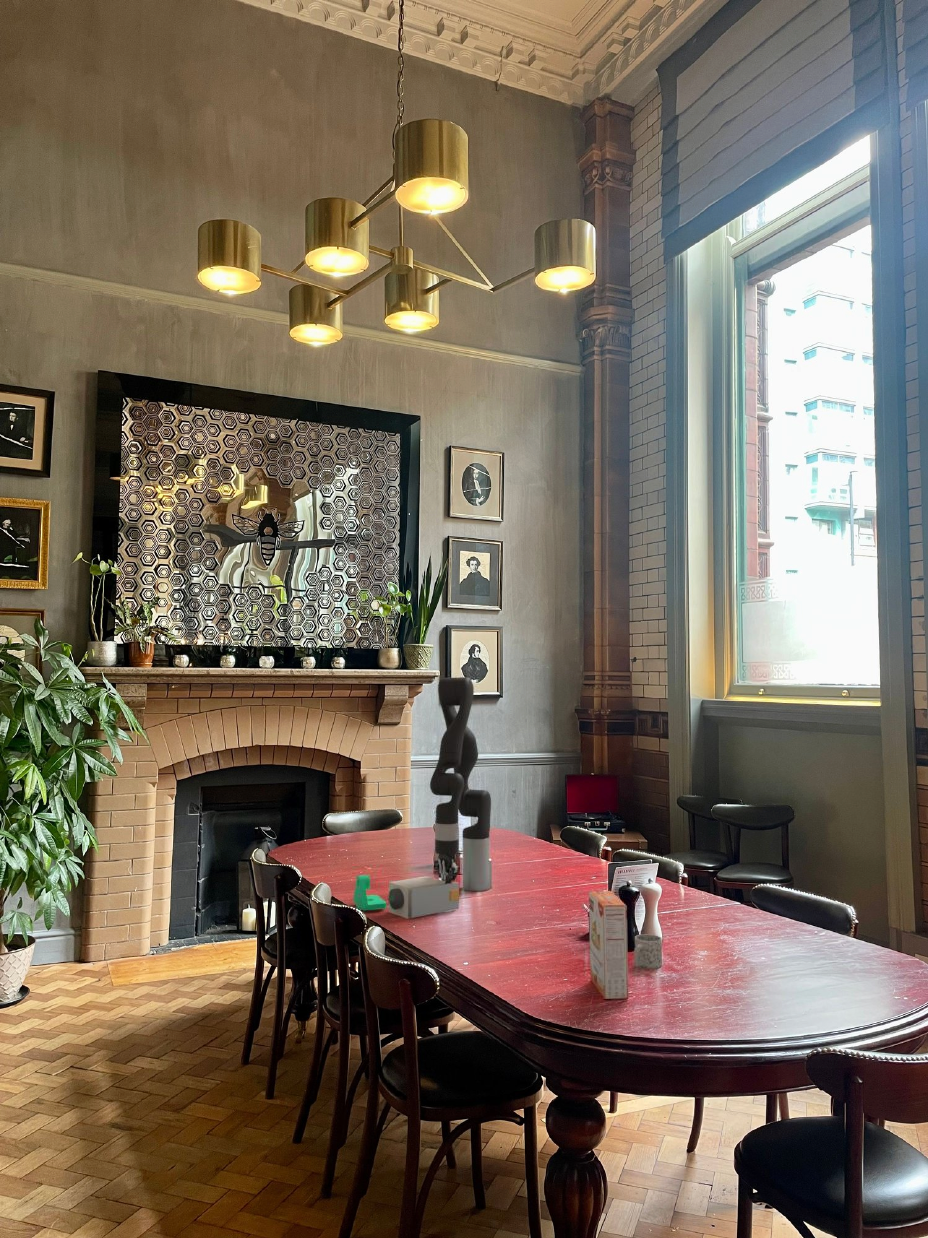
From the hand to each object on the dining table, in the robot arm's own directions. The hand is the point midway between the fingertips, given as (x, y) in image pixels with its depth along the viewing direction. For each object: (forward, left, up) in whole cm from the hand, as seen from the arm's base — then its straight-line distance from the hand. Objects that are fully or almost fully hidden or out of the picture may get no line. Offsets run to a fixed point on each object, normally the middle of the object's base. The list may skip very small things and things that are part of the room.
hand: (446, 893), depth 286 cm
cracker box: (+16, +82, -5) cm, 84 cm away
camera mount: (+18, -16, -5) cm, 25 cm away
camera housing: (+9, -3, -5) cm, 11 cm away
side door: (+7, +4, -4) cm, 9 cm away
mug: (-4, +76, -5) cm, 76 cm away
